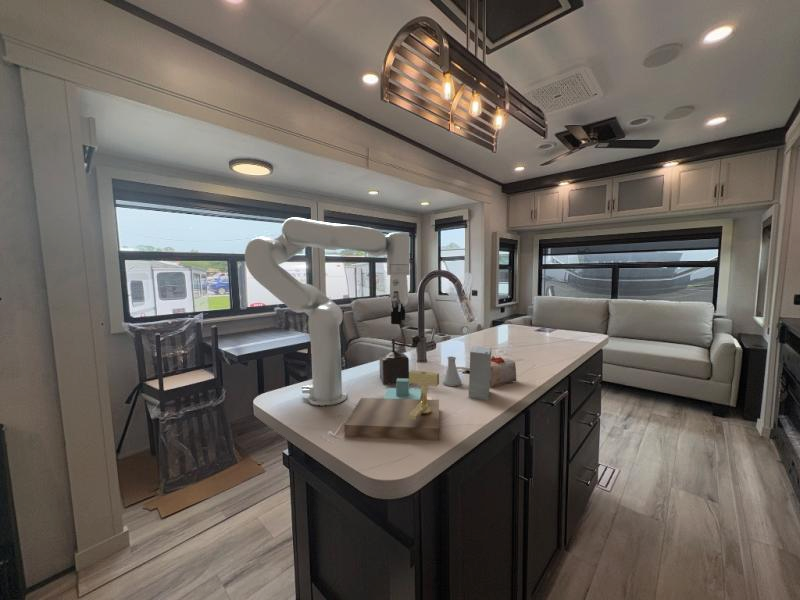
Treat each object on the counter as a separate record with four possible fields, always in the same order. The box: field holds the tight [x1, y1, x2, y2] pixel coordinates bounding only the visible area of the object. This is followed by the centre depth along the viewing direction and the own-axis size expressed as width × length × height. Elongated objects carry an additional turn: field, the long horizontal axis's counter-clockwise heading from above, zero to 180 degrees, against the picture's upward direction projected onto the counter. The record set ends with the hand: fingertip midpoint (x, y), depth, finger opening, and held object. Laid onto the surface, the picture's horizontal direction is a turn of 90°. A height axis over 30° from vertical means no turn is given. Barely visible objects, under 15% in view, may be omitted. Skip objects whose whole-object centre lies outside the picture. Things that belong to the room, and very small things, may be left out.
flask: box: [441, 356, 462, 387], centre depth 117 cm, size 7×7×10 cm
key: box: [408, 369, 440, 420], centre depth 82 cm, size 11×8×11 cm
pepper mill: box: [379, 334, 422, 385], centre depth 123 cm, size 16×11×18 cm
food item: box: [490, 355, 517, 388], centre depth 117 cm, size 14×8×10 cm, turn 118°
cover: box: [383, 378, 421, 399], centre depth 104 cm, size 12×12×6 cm
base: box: [343, 397, 440, 441], centre depth 87 cm, size 24×18×3 cm
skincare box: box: [468, 345, 492, 400], centre depth 105 cm, size 8×7×16 cm
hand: (398, 322), depth 104 cm, fingers open, 9 cm apart
